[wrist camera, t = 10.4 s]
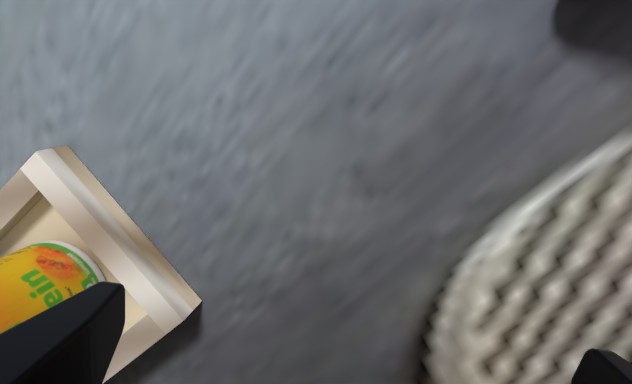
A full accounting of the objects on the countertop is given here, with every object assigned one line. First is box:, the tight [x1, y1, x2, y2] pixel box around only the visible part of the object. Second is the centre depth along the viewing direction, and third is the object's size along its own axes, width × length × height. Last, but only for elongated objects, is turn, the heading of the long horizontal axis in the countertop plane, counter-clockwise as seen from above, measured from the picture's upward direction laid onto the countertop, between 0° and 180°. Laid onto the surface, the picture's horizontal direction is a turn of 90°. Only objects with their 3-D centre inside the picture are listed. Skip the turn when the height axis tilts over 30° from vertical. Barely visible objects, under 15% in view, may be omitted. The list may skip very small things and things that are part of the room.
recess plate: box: [0, 145, 202, 384], centre depth 24 cm, size 10×10×2 cm
